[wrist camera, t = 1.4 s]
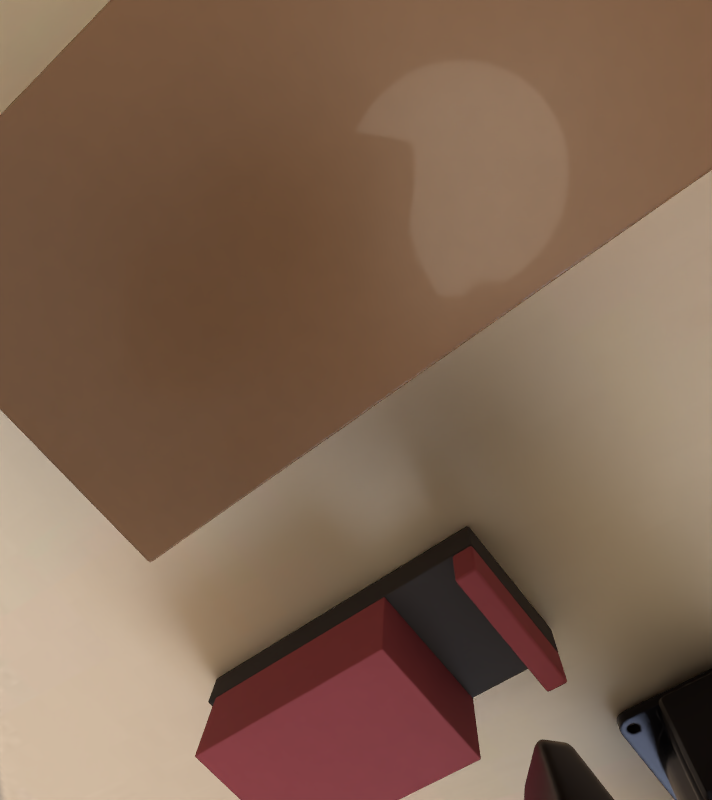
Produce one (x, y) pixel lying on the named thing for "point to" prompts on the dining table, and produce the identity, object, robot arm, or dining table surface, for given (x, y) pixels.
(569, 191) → the shoebox
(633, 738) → the robot arm
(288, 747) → the dark red two-tone block
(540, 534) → the dining table surface
